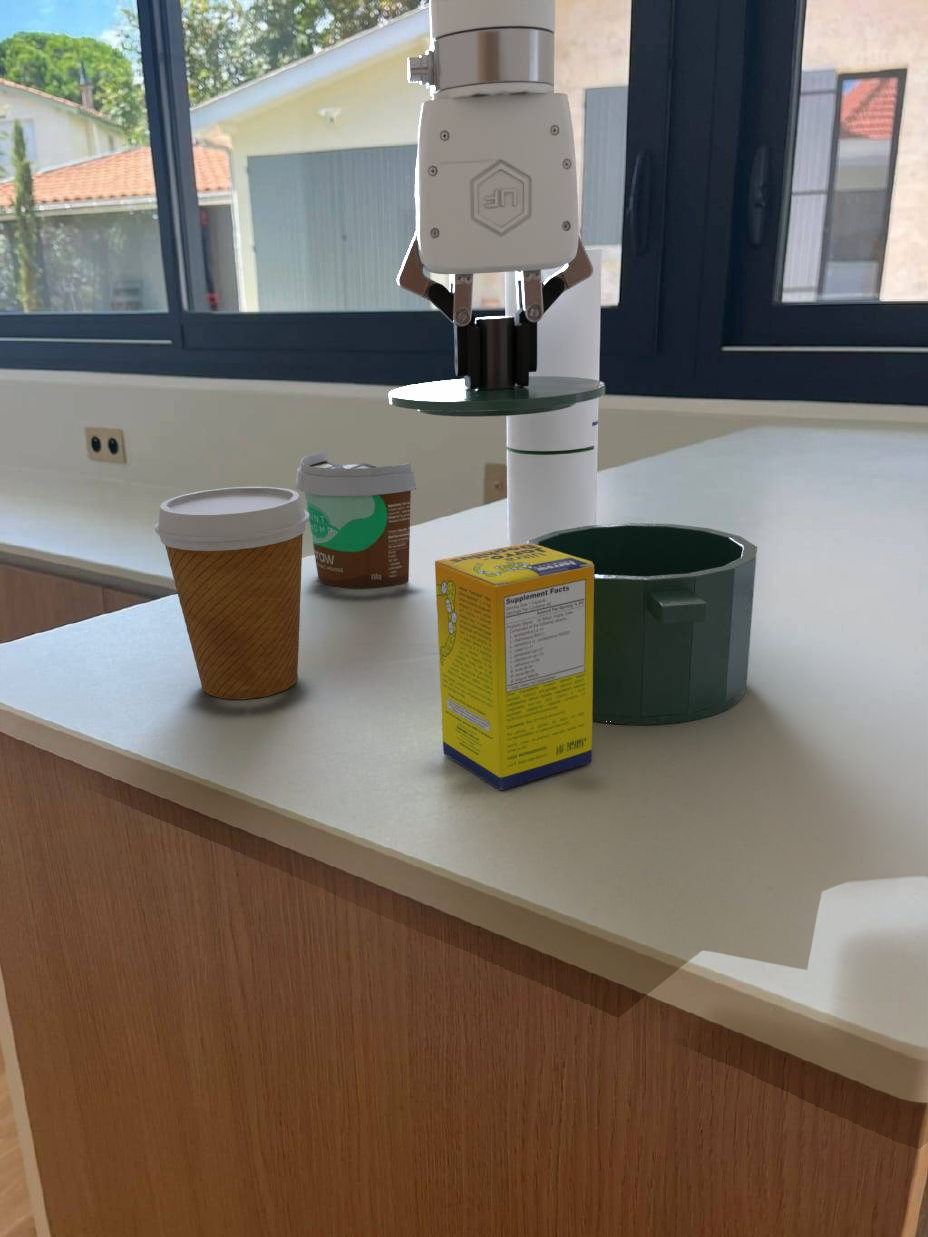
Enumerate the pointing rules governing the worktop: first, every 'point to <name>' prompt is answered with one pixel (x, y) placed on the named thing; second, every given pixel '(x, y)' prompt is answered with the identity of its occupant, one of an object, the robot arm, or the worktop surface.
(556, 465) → the cylindrical container
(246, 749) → the worktop surface
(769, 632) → the worktop surface
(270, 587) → the disposable coffee cup
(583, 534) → the pot
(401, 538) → the food container
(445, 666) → the supplement box
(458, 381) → the lid
